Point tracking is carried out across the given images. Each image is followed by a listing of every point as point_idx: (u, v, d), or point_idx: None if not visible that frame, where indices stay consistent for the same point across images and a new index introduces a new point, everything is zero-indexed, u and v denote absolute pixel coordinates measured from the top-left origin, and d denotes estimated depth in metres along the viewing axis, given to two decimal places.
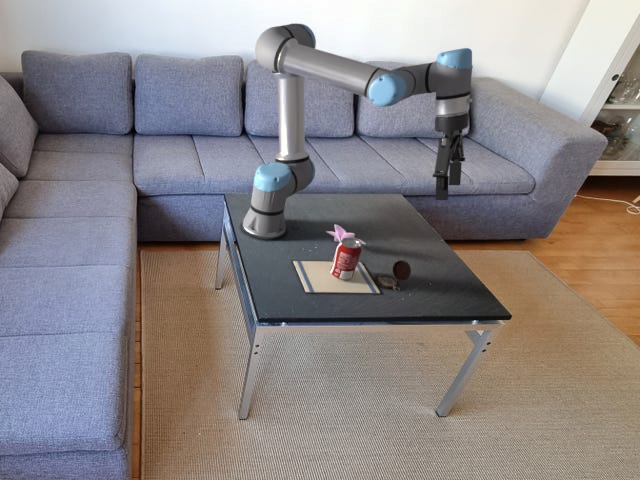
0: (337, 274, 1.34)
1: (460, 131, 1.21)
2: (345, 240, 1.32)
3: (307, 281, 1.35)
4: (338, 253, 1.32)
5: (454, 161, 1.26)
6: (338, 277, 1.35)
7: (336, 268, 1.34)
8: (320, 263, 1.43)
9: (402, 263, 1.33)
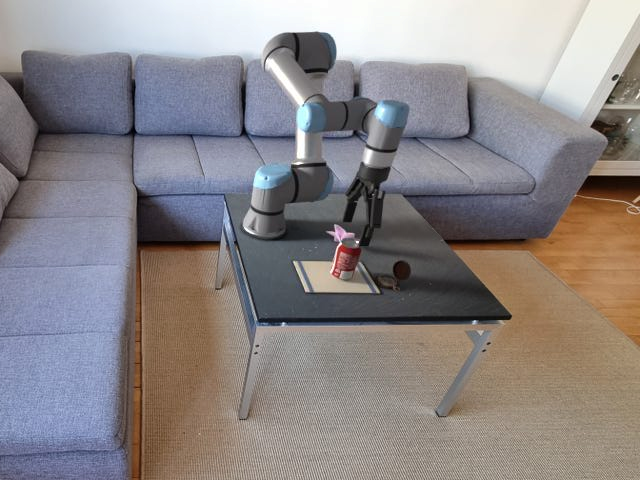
0: (337, 274, 1.34)
1: None
2: (345, 240, 1.32)
3: (307, 281, 1.35)
4: (338, 253, 1.32)
5: (351, 201, 1.30)
6: (338, 277, 1.35)
7: (336, 268, 1.34)
8: (320, 263, 1.43)
9: (402, 263, 1.33)
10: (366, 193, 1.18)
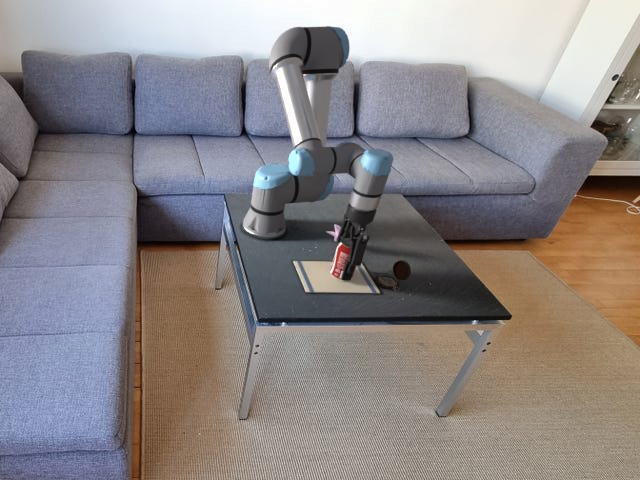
0: (337, 274, 1.34)
1: None
2: (345, 240, 1.32)
3: (307, 281, 1.35)
4: (338, 253, 1.32)
5: None
6: (338, 277, 1.35)
7: (336, 268, 1.34)
8: (320, 263, 1.43)
9: (402, 263, 1.33)
10: (352, 233, 1.26)
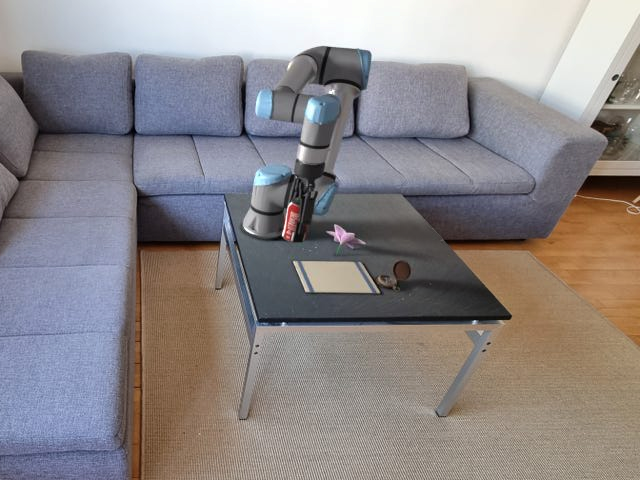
0: (288, 236, 1.27)
1: None
2: (296, 200, 1.24)
3: (307, 281, 1.35)
4: (288, 213, 1.24)
5: None
6: (289, 240, 1.27)
7: (287, 230, 1.26)
8: (320, 263, 1.43)
9: (402, 263, 1.33)
10: (301, 190, 1.18)
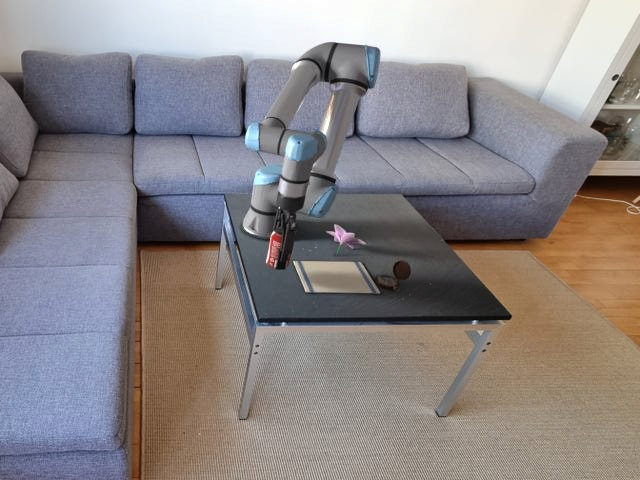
0: (271, 263, 1.32)
1: None
2: (279, 229, 1.30)
3: (307, 281, 1.35)
4: (271, 241, 1.29)
5: None
6: (273, 266, 1.32)
7: (270, 257, 1.32)
8: (320, 263, 1.43)
9: (402, 263, 1.33)
10: (283, 221, 1.24)
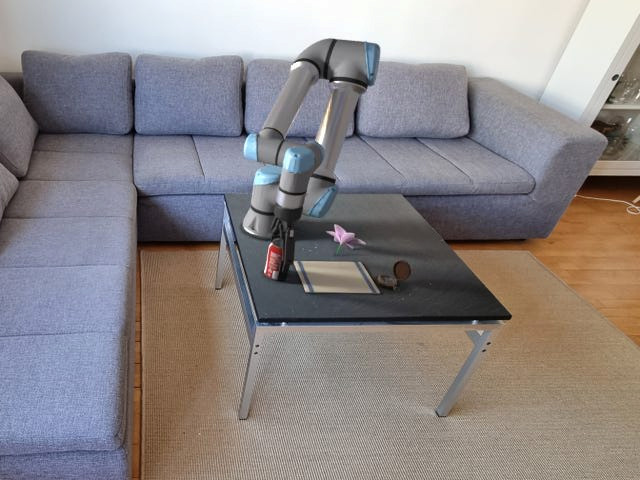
0: (269, 274, 1.34)
1: None
2: (276, 240, 1.32)
3: (307, 281, 1.35)
4: (269, 252, 1.32)
5: (274, 234, 1.37)
6: (271, 277, 1.35)
7: (268, 268, 1.34)
8: (320, 263, 1.43)
9: (402, 263, 1.33)
10: (281, 231, 1.25)
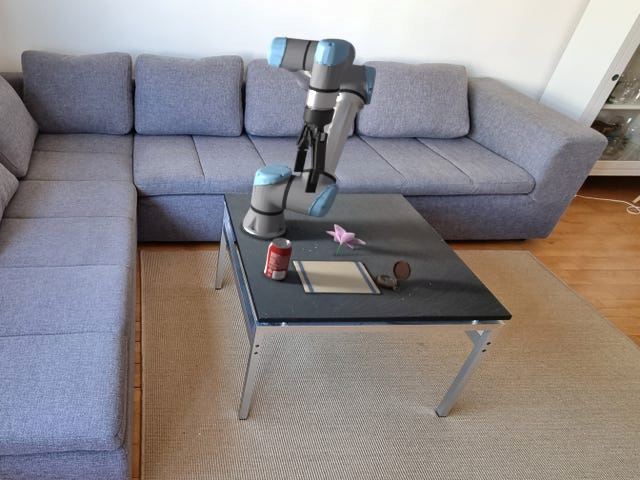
0: (269, 274, 1.34)
1: None
2: (276, 240, 1.32)
3: (307, 281, 1.35)
4: (269, 252, 1.32)
5: (301, 149, 1.29)
6: (271, 277, 1.35)
7: (268, 268, 1.34)
8: (320, 263, 1.43)
9: (402, 263, 1.33)
10: (311, 137, 1.17)
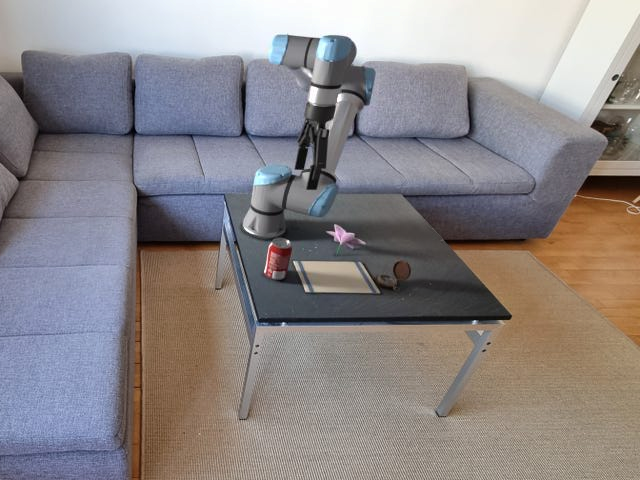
0: (269, 274, 1.34)
1: None
2: (276, 240, 1.32)
3: (307, 281, 1.35)
4: (269, 252, 1.32)
5: (302, 147, 1.29)
6: (271, 277, 1.35)
7: (268, 268, 1.34)
8: (320, 263, 1.43)
9: (402, 263, 1.33)
10: (312, 134, 1.17)
